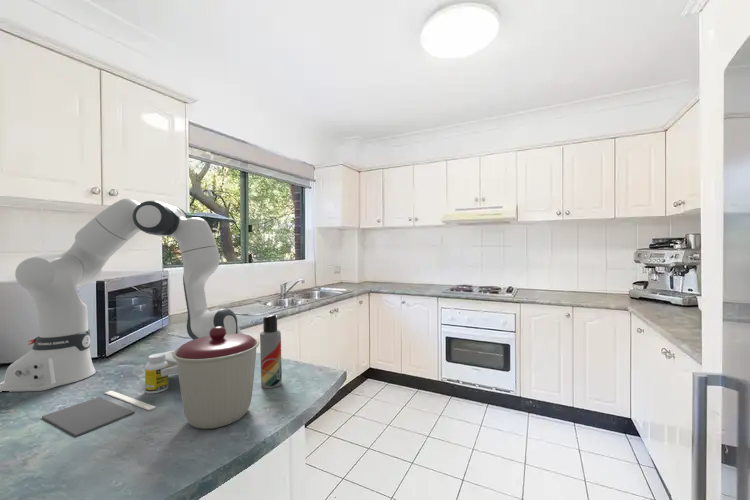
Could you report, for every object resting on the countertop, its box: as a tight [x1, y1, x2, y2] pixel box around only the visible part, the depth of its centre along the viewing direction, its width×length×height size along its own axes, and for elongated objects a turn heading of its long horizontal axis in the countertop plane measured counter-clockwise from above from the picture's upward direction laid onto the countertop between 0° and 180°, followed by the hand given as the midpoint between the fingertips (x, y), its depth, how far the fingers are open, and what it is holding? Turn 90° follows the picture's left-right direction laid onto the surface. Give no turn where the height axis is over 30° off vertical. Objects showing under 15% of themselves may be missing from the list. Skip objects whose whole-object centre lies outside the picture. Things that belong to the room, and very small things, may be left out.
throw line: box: [104, 390, 156, 412], centre depth 84 cm, size 22×2×1 cm, turn 62°
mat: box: [41, 396, 136, 438], centre depth 77 cm, size 18×11×1 cm, turn 62°
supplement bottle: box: [144, 352, 169, 395], centre depth 91 cm, size 5×5×10 cm
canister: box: [172, 326, 260, 430], centre depth 75 cm, size 18×18×21 cm
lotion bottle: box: [259, 314, 283, 389], centre depth 93 cm, size 6×6×20 cm
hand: (153, 371), depth 90 cm, fingers closed on supplement bottle, 5 cm apart
